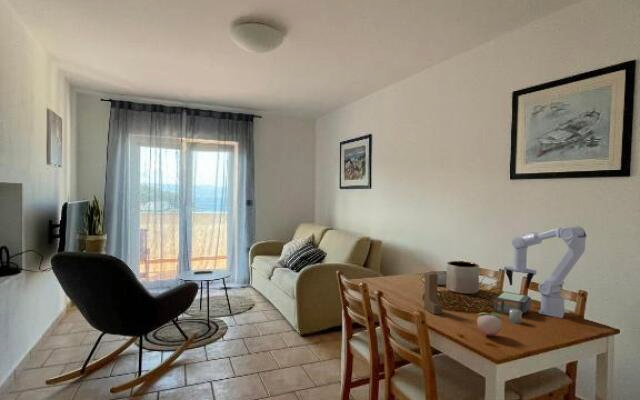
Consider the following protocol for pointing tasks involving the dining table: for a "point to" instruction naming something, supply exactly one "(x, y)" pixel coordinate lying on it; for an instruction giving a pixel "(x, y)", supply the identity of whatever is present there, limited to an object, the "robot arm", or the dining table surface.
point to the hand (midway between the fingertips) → (519, 286)
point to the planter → (462, 277)
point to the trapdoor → (524, 299)
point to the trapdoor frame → (506, 305)
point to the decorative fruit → (489, 323)
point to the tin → (441, 277)
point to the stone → (515, 316)
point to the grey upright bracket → (431, 294)
